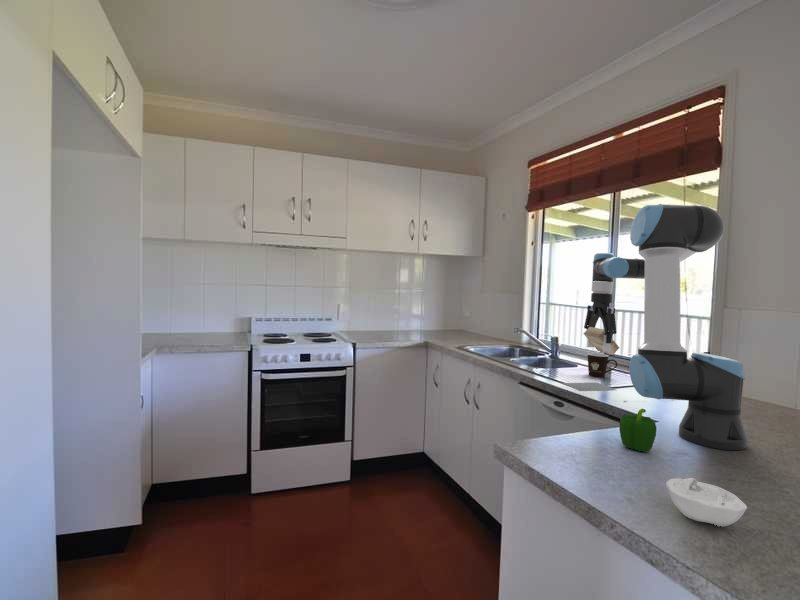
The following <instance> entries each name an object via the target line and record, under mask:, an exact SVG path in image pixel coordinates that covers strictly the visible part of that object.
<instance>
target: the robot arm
mask: <svg viewBox="0 0 800 600" xmlns="http://www.w3.org/2000/svg"><path fill="white" fill-rule="evenodd" d="M724 233H725V223H724V219H723V218H722V216H721V215H720V214H719V213H718V211H716V210H715V209H713V208H712V207H709V206H705V205H702V204H693V205H692V204H691V205H690V204H662V203H659V204H648V205H644V206H642V207H641V208H640V209H639V210H638V211H637V212H636V215H635V216H634V218H633V221H632V224H631V228H630V235H629V236H630V237H629V238H630V243H631V244H632V245H633V246H634V247H638V254H639V255H640V256H641V257H637V258H636V257H620V256H615V254H614V253H612V252H611V253H608V252H607V253H606V252H603V253H602V252H601V253H600V252H599V253H595V254H594V256H593V261H592V276H591V277H592V279H591V280H592V281H591V296H590V302H592V305H591V304H589V305H587V309H586V310H587V311H586V317H585V321H584V326H583V327H584V329H586V330H587V329H588V328H589V327H594V328H596V325H597V324H598V321H599V319H601V322H602V325H603V329H604V330H605V334H604V340H603V352H602V353H604V352H610V347H611V342H612V339H613V337H612V336H613V335H616V334H617V324H616V308H615V307H610V304H611V303H613V294H612V293H613V290H614V289H613V287H614V279H636V280H638V279H640V280H644V293H643V294H644V296H643V297H644V300H643V301H644V312H643V313H644V315H643V317H644V319H643V320H644V321H643V322H644V323H643V329H644V330H643V333H644V335H643V337H644V338H643V343H642V344H641V345H640V346H639V347H637V354H634V355H632V356H631V357H630V361H629V367H628V369H629V376H630V380H631V384H632V386H633V388H634V390H635V391H636V392H637V394H638V395H639V396H641V397H643V398H647V399H654V400H655V399H656V400H676V401H688V402H687V409H686V411H685V413H684V414H683V415H684V416H683V417H682V419H681V421H680V424H679V426H678V435H679V436H680V437H681V438H683V439H685V440H686V441H689V442H691V443H694V444H697V445H700V446H704V447H707V448H713V449H717V450H718V449H719V450H725V451H742V450H746V448H747V447H748V436H747V434H746V433H747V432H746V430H745V427H744V423H743V421H742V417H741V416H742V403H743V391H744V389H743V388H744V381H745V367H744V365H743V363H742V362H740V361H739V360H736V359H733V358H728V357H724V356H720V355H716V354H710V353H704V352H699V351H697V352H696V351H693V352H691V355H690V357H688V350H687V349H686V348H684V346H682V344H681V262H682V261H684V260H686V259H688V258H689V257H691V256H693V255H695V254H696V253H704V252H706V251H708V250H709V249H711V248H713V247H715V246H716V245H717V244H718V243H719V242H720V241H721V240H722V237H723V235H724ZM586 343H587V345H586V347H587V348H595V347H594V346H593V344H592V343H591V342H590V341H589V340H588V339H587V342H586Z"/></svg>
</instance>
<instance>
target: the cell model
mask: <svg viewBox="0 0 800 600" xmlns="http://www.w3.org/2000/svg"><path fill="white" fill-rule="evenodd" d="M665 485H666V487H667V489H668V493H669V494H668V495H669V497H670V499H671V501H672V503H673V504H674V506H675V507H676V508H677V509H678V511H680V513H681V514H682V515H684V517H686V518H687V517H688V519H690V520H693V521H696V522H701V523H707V524H711V525H713V524H714V526H716V525H717V526H716V527H720V526H721V528H722V527H727V526H730V525H732V524H734V523H736V522H738V520H740V519H741V518H742V516H743V515H744V513H745V512H746V511H747V509H748V506H747V504H746V503H744V502H743V501H742V500H741V499H740V498H739V497H738V496H737V495H735V494H734V493H732V492H730V491H728V490H726V489H724V488H722V487H720V486H717V485H714V484H709V483H706V482H701V481H697V479H696V478H693V477H689V478H688V477H687V478H678V477H677V478H670V479H668V480H667V481H666V483H665Z"/></svg>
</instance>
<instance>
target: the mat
mask: <svg viewBox="0 0 800 600" xmlns="http://www.w3.org/2000/svg"><path fill="white" fill-rule="evenodd" d="M562 385H565V386H568V387H570V388H572V389H575V390H576V391H579V392H592V391H593V392H595V391H597V392H599V391H616V389H615V388H612V387H610V386H607V385H605V384H602V383H599V382H596V381H595V382H562Z"/></svg>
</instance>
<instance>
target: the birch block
mask: <svg viewBox="0 0 800 600" xmlns="http://www.w3.org/2000/svg"><path fill="white" fill-rule="evenodd" d="M582 334H583V335H584V336H585V338H586V339H587V341H588V340H589V341H590V342H591V343H592V344H593V346H594V347H593V348H595V350H596V351H598V352H601V353H603V354H606V355H612V356H613V355H614V354H616V352H618V350H619V349H620V346H619V345H618V344H617V343H616V341H615V340H614V339H613V338H612V342H611V347H610V352H603V340H604V334H605V330H604V328H599V327H595V328H594V327H589V328H588V329H586V330H585V331H584V332H583V333H582Z"/></svg>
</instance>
